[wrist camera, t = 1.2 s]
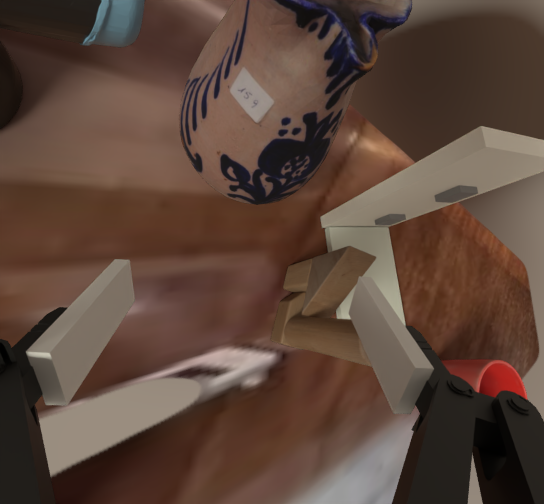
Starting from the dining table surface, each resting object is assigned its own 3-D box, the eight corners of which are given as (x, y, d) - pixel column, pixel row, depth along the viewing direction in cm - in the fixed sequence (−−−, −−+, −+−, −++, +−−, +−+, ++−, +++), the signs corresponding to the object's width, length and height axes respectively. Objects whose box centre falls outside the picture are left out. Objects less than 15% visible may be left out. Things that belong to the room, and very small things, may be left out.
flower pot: (421, 427, 44) (488, 457, 35) (411, 354, 46) (472, 365, 37) (466, 414, 48) (536, 437, 39) (455, 347, 50) (519, 355, 41)
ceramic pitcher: (200, 233, 36) (274, 105, 14) (149, 86, 38) (138, -257, 15) (308, 203, 44) (473, 88, 21) (262, 81, 45) (372, -153, 22)
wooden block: (308, 272, 41) (408, 248, 25) (292, 347, 38) (394, 375, 22) (287, 264, 40) (376, 234, 24) (268, 340, 37) (357, 365, 21)
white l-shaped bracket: (320, 216, 44) (481, 125, 22) (383, 218, 49) (564, 144, 27) (339, 355, 41) (550, 408, 19) (404, 341, 46) (630, 370, 24)
